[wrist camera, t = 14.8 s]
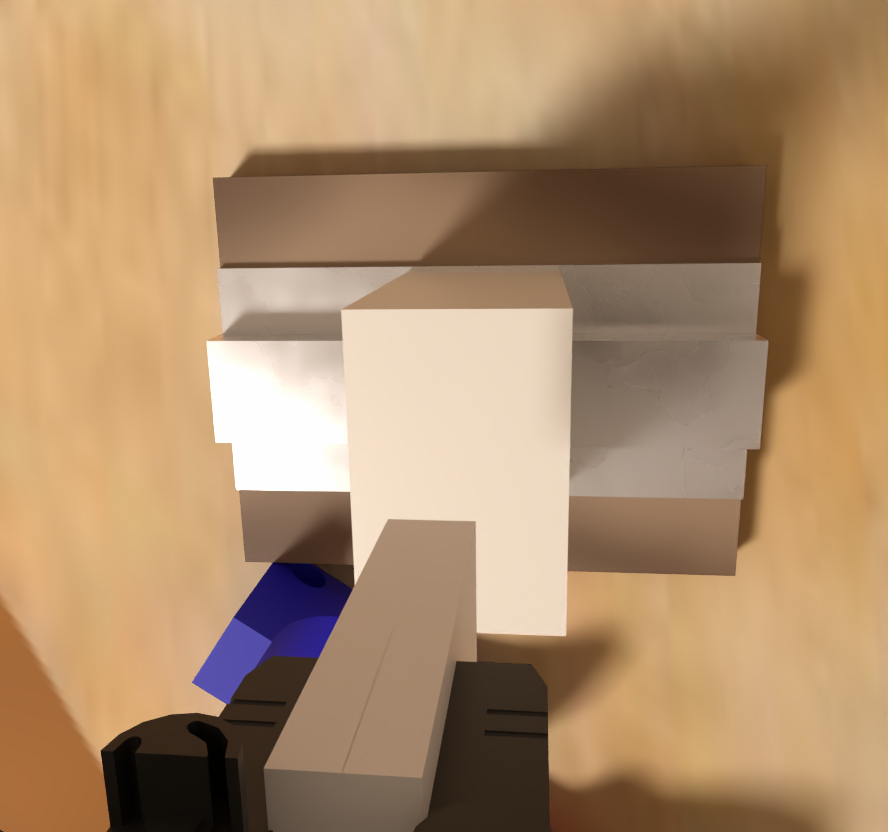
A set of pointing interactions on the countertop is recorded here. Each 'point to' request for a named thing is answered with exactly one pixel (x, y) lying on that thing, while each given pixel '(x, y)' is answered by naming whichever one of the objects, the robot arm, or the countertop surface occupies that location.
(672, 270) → the steel rail
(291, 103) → the countertop surface
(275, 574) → the cable clip
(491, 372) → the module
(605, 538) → the board
